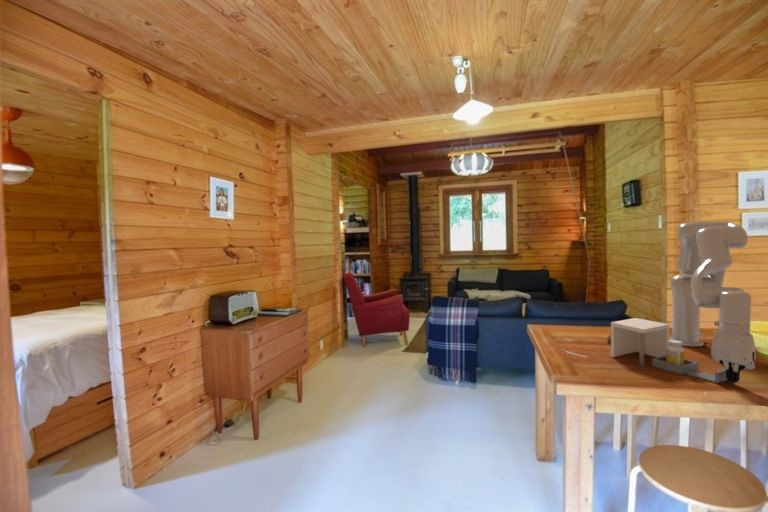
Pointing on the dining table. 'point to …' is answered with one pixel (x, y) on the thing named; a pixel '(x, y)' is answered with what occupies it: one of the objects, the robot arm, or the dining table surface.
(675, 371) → the tray
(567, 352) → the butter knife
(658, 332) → the counter
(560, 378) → the dining table surface
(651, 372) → the dining table surface
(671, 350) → the supplement bottle
